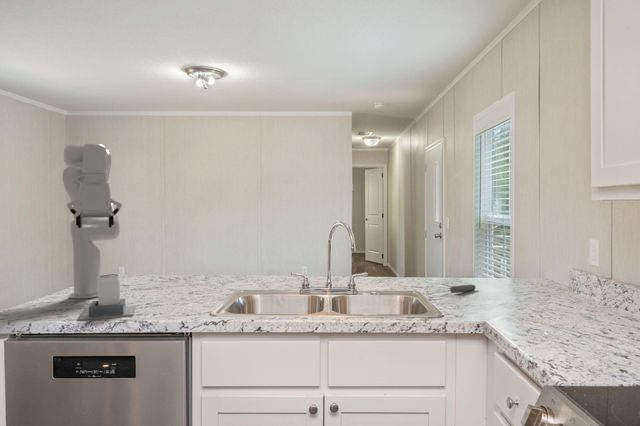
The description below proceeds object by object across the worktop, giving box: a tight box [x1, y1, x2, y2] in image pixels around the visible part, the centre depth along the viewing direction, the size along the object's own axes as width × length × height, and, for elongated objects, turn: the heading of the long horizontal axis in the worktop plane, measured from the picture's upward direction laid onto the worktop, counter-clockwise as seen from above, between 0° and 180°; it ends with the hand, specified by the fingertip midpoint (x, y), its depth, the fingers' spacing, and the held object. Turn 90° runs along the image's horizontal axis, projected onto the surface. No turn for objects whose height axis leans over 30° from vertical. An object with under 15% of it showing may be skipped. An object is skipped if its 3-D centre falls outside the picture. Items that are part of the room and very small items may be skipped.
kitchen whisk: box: [423, 282, 477, 301], centre depth 169 cm, size 6×34×6 cm, turn 130°
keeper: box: [76, 298, 136, 322], centre depth 142 cm, size 14×16×4 cm
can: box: [97, 273, 121, 306], centre depth 142 cm, size 6×6×12 cm
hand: (95, 227), depth 151 cm, fingers open, 9 cm apart
